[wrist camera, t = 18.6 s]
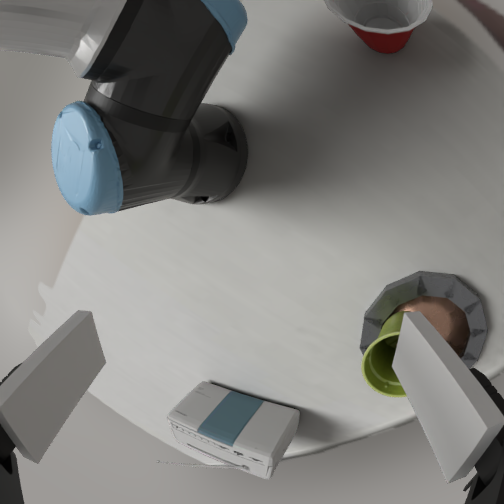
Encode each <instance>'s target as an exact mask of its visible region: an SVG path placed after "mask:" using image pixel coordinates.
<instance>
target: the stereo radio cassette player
mask: <svg viewBox="0 0 504 504" xmlns="http://www.w3.org/2000/svg"><path fill="white" fill-rule="evenodd" d="M299 416H300V412H299V410H297V409H293V408H289V407H285V406H282V405H278V404H274V403H271V402H267V401H264V400H260V399H257V398H254V397H250V396H247V395H244V394H241V393H238V392H234V391H231V390H228V389H225V388H222V387H220V386H217V385H214V384H211V383H208V382H205V381H203V382H201V383H200V384H198V385H197V386H196V387H195V388H194V389H193V390H192V391H191V392H190V393H188V394H187V395H186V396H185V397H184V398H183V399H182V400H181V401H180V402H179V403H178V404H177V405H176V406H175V407H174V408H173V409H172V410H171V411H170V413H169V414H168V416H167V419H168V422H169V425H170V429H171V432H172V434H173V436H174V439H175V440H176V441H177V442H178V443H180V444H182V445H184V446H186V447H188V448H191V449H193V450H195V451H197V452H199V453H201V454H203V455H206V456H208V457H210V458H213V459H215V460H217V461H220V462H222V463H224V464H227V465H229V466H215V465H197V464H182V463H181V464H180V463H169V462H163V463H167V464H175V465H183V466H193V467H209V468H237V469H240V470H242V471H245V472H248V473H250V474H253V475H256V476H259V477H262V478H265V479H270V478H271V477H272V475H273V473H274V470H275V469H276V467H277V466H278V464H279V462H280V460H281V459H282V457H283V455H284V453H285V452H286V450H287V448H288V446H289V444H290V443H291V441H292V439H293V437H294V435H295V433H296V431H297V428H298V424H299ZM159 462H160V461H157V463H159Z"/></svg>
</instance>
